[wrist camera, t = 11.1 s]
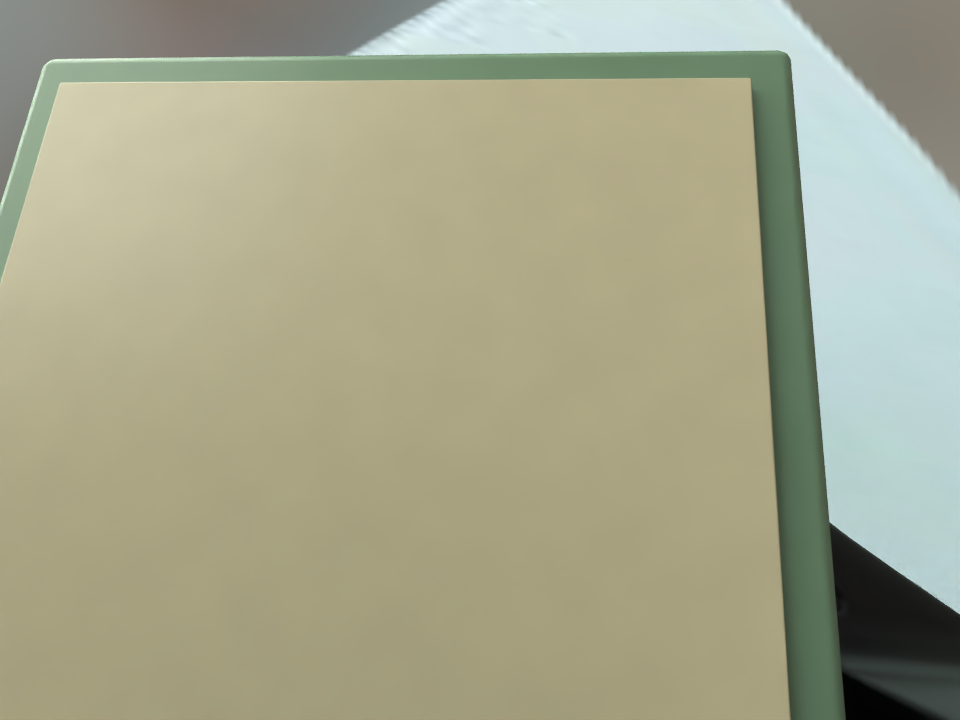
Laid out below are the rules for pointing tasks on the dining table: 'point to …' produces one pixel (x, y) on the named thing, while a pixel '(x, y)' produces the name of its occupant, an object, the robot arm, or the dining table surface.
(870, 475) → the dining table surface
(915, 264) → the dining table surface
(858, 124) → the dining table surface
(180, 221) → the green tall block
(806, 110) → the dining table surface
